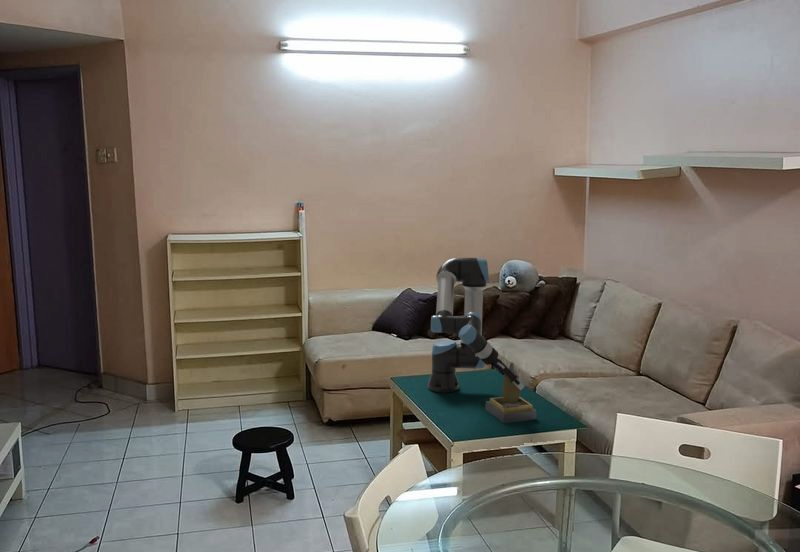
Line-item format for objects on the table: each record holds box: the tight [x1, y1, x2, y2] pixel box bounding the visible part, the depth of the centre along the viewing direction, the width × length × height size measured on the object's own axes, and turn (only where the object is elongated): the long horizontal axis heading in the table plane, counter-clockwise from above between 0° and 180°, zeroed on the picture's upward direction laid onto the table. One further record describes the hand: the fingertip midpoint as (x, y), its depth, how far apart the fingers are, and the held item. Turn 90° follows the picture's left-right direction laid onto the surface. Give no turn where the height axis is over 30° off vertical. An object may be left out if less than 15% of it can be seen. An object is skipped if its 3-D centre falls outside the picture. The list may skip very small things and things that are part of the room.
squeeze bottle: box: [501, 361, 521, 404], centre depth 347 cm, size 8×8×18 cm
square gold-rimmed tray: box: [484, 396, 538, 424], centre depth 349 cm, size 18×16×6 cm
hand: (518, 385), depth 349 cm, fingers closed on squeeze bottle, 6 cm apart
